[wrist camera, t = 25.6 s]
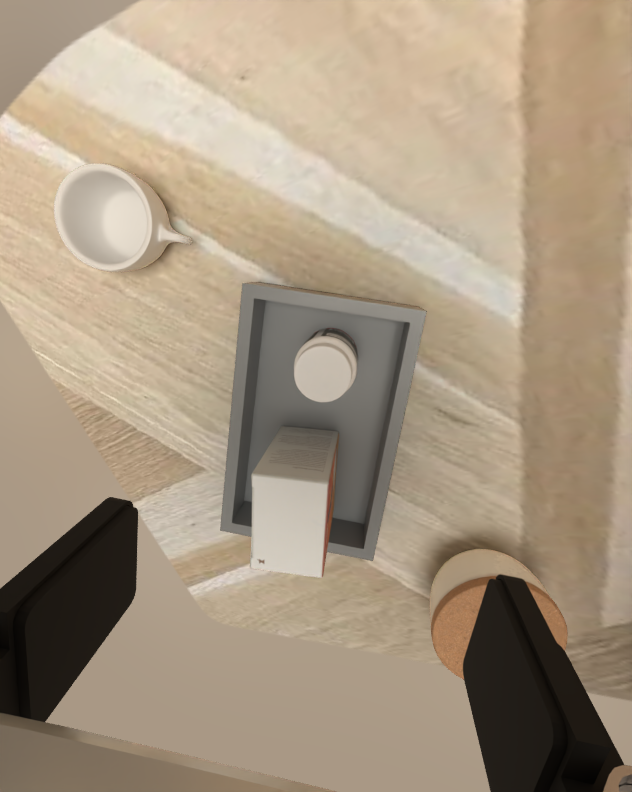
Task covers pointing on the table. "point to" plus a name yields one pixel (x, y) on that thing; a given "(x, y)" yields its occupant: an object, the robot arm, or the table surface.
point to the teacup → (112, 219)
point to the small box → (294, 502)
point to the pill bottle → (326, 365)
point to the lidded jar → (477, 601)
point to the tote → (349, 414)
